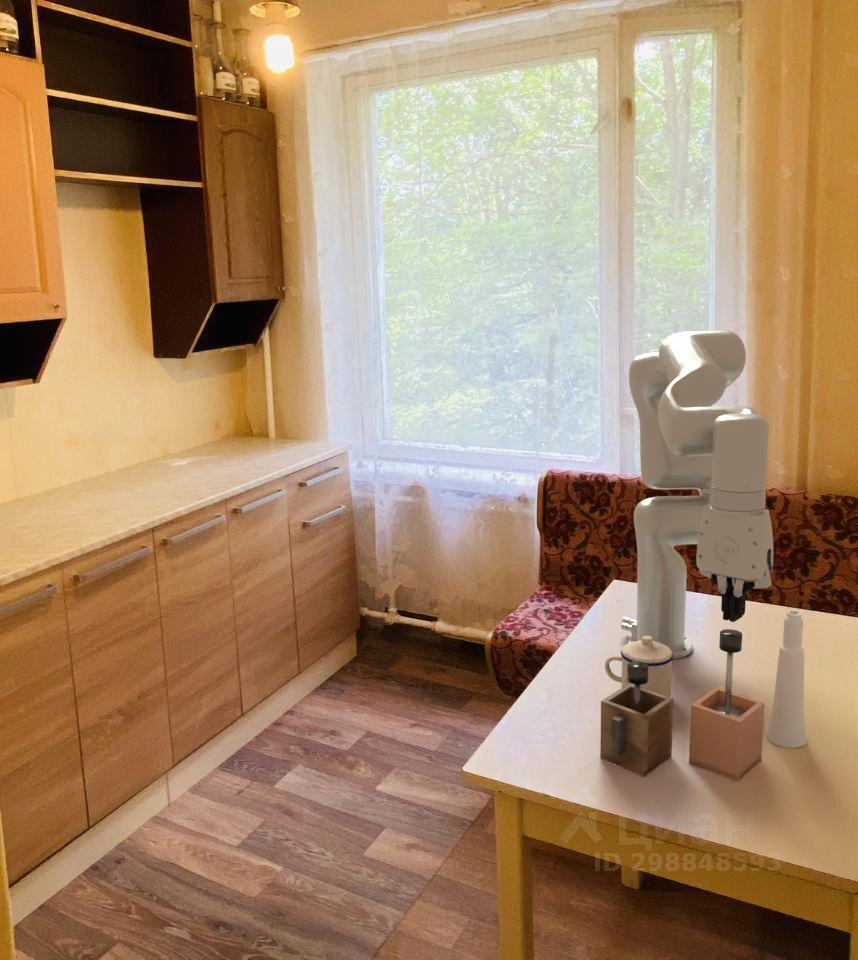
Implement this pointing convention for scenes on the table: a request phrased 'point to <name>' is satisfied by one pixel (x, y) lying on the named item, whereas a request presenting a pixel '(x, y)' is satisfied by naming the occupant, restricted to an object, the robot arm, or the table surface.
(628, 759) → the wooden handled box
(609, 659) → the teacup with lid
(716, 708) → the black knobbed plunger
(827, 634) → the table surface
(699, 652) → the table surface
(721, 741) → the square planter pot
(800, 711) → the cosmetic bottle
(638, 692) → the dark metallic plunger
